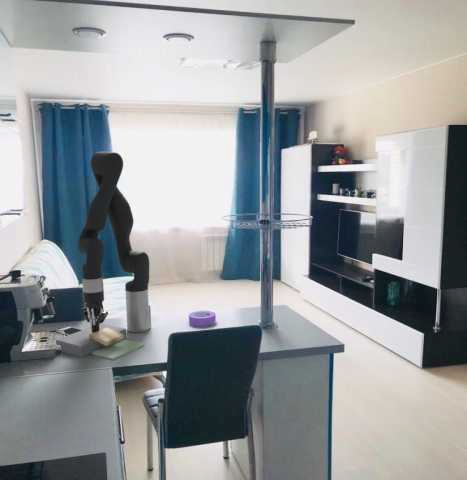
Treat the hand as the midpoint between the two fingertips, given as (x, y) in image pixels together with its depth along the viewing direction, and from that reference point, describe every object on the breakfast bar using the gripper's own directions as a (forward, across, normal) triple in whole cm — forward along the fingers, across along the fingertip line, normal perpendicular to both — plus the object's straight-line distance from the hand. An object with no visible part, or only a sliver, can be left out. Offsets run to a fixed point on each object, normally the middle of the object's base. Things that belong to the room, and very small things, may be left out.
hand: (95, 333), depth 178 cm
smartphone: (+5, +19, -5) cm, 20 cm away
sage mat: (+5, -11, -1) cm, 12 cm away
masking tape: (+5, -18, -43) cm, 47 cm away
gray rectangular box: (+5, +2, 0) cm, 5 cm away
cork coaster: (+1, -6, 0) cm, 6 cm away
